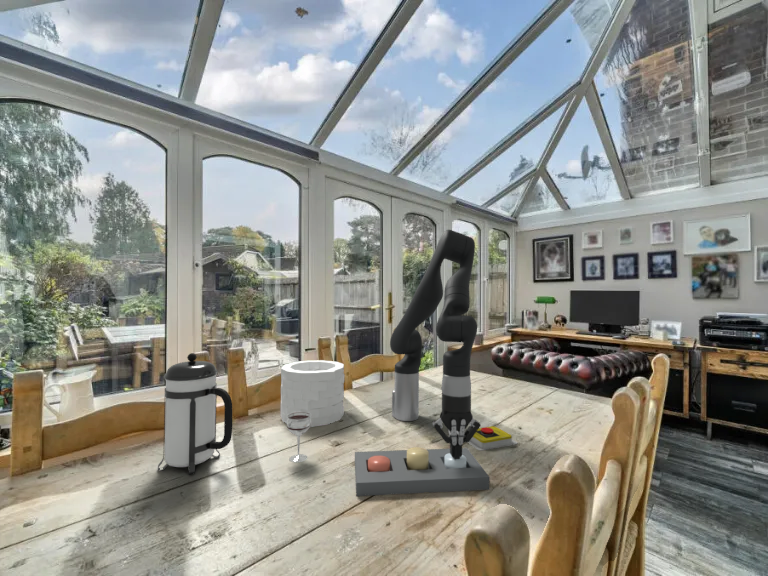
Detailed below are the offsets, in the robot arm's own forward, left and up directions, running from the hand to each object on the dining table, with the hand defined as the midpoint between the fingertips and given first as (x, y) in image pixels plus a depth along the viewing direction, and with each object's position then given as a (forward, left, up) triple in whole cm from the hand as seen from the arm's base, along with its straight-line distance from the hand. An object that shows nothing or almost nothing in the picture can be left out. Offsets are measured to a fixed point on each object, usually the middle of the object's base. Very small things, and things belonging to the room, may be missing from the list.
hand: (456, 457), depth 92 cm
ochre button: (-7, -7, -2) cm, 10 cm away
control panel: (-7, -7, -4) cm, 11 cm away
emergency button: (-1, +25, -5) cm, 26 cm away
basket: (-62, +4, -4) cm, 63 cm away
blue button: (0, 0, -4) cm, 4 cm away
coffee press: (-57, -41, -4) cm, 71 cm away
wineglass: (-38, -21, -4) cm, 44 cm away
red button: (-14, -14, -4) cm, 21 cm away
